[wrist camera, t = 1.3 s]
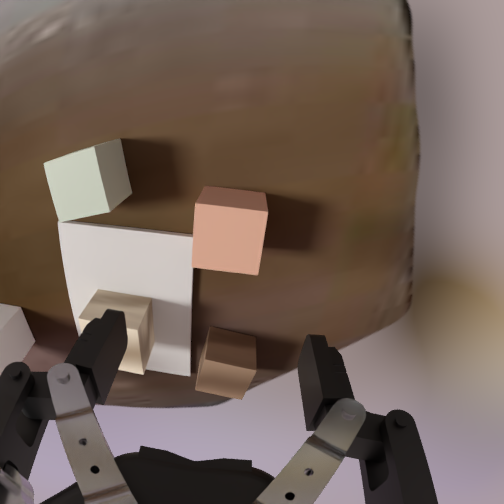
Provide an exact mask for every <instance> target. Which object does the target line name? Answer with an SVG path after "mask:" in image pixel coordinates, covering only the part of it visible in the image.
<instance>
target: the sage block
mask: <svg viewBox="0 0 504 504" xmlns="http://www.w3.org/2000/svg"><path fill="white" fill-rule="evenodd" d="M44 168H45V172H46V176H47V180H48V184H49V188H50V191H51V195H52V199H53V202H54V206H55V209H56V212H57V216H58V219H59V222H64V221H69V220H73V219H78V218H82V217H87V216H92V215H97V214H102V213H107V212H110V211H112V210H113V209H114V208H115V207H116V206H117V205H119V204H120V203H121V202H122V201H123V200H125V199H126V198H127V197H128V196H130V195H131V194H132V190H131V186H130V181H129V177H128V172H127V168H126V163H125V158H124V154H123V149H122V144H121V138H120V139H116V140H112V141H109V142H105V143H102V144H98V145H95V146H92V147H88V148H85V149H82V150H79V151H76V152H73V153H70V154H67V155H64V156H61V157H59V158H56V159H53V160H51V161H48V162H46V163H44Z"/></svg>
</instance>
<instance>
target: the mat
mask: <svg viewBox="0 0 504 504" xmlns="http://www.w3.org/2000/svg"><path fill="white" fill-rule="evenodd" d="M58 229H59V237H60V245H61V252H62V259H63V265H64V271H65V276H66V282H67V287H68V292H69V297H70V302H71V306H72V311H73V315H74V319H75V323H76V327H77V331H78V335H79V336H80V335H81V333H82V332H81V328H80V324H79V320H78V318H79V316H80V315H81V313H82V312H83V310H84V309H85V307H86V306H87V304H88V303H89V301H90V300H91V298H92V297H93V296H94V294H95V293H96V291H97V290H98V289H101V290H107V291H113V292H118V293H125V294H131V295H137V296H143V297H150V298H152V310H153V325H154V338H155V343H154V346H153V348H152V351H151V354H150V357H149V360H148V363H147V366H146V369H148V370H154V371H159V372H165V373H171V374H178V375H184V376H190V374H191V322H192V292H193V269H194V268H193V267H191V266H192V247H193V234H185V233H176V232H167V231H158V230H150V229H141V228H132V227H123V226H114V225H104V224H95V223H86V222H76V221H64V222H58Z"/></svg>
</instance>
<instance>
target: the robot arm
mask: <svg viewBox="0 0 504 504" xmlns="http://www.w3.org/2000/svg"><path fill="white" fill-rule="evenodd" d="M127 345H128V335H127V328H126V321H125V314H124V312H123V311H118V310H113V309H107V310H106V311H105V312H104V314H103V316H102V317H101V319H100V318H94V319H93V320H92V321H90V322H89V323H88V324H87V325H86V327H85V328H84V330H83V332H82V333H81V335H80V336H79V338H78V340H77V341H76V343H75V345H74V346H73V348H72V350H71V352H70V353H69V355H68V357H67V358H66V360H65V362H64V363H60V364H57V365H55V366H53V367H52V368H51V369H50V370H49V372H31V371H30V369H29V367H28V366H27V365H26V364H25V363H23V362H13V363H10V364H9V365H7V366H6V367H5V368H4V370H3V372H2V373H1V375H0V504H34V499H33V497H34V491H33V487H32V485H31V484H30V482H29V481H28V478H29V476H30V473H31V469H32V466H33V463H34V460H35V457H36V454H37V451H38V448H39V445H40V442H41V440H42V437H43V434H44V432H45V429H46V426H47V424H48V421H49V420H56V424H57V428H58V431H59V434H60V437H61V440H62V443H63V446H64V449H65V452H66V455H67V458H68V460H69V463H70V465H71V468H72V471H73V473H74V476H75V478H76V481H77V482H75V483H74V484H72V485H71V486H69V487H68V488H66V489H64V490H63V491H61V492H59V493H57V494H56V495H54V496H52V497H50V498H49V499H47V500H45V501H43V502H42V503H40V504H313V503H314V502H315V501H316V499H317V498H318V496H319V495H320V494H321V492H322V491H323V489H324V488H325V486H326V485H327V483H328V482H329V481H330V479H331V478H332V476H333V475H334V473H335V472H336V470H337V469H338V467H339V465H340V464H341V462H342V461H343V459H344V457H345V456H346V457H351V458H356V459H359V462H360V469H361V475H362V481H363V489H364V496H365V503H366V504H438V501H437V497H436V493H435V489H434V485H433V481H432V477H431V474H430V470H429V466H428V463H427V460H426V456H425V453H424V449H423V446H422V443H421V440H420V436H419V433H418V430H417V427H416V424H415V421H414V419H413V417H412V416H411V415H410V414H409V413H407V412H405V411H403V410H392V411H390V412H389V413H388V414H387V415H386V416H383V415H378V414H373V413H369V412H367V411H366V410H365V408H364V407H363V405H362V404H361V403H359V402H358V401H356V400H355V398H354V395H353V392H352V389H351V385H350V382H349V378H348V375H347V373H346V368H345V366H344V362H343V359H342V356H341V354H340V353H339V352H338V351H337V349H336V348H335V347H328V344H327V341H326V337H325V336H324V335H311V334H308V335H307V336H306V339H305V342H304V345H303V348H302V351H301V354H300V357H299V361H298V375H299V382H300V388H301V395H302V402H303V409H304V416H305V423H306V430H307V431H315V432H314V433H313V434H312V436H311V437H309V438H308V439H307V440H306V442H305V443H304V444H303V445H302V447H301V448H300V449H299V450H298V451H297V453H296V454H295V455H294V456H293V458H292V459H291V460H290V461H289V463H288V464H287V465H286V466H285V467H284V468H283V470H282V471H281V472H280V473H279V474H278V475H277V477H276V478H274V477H273V476H272V475H270V474H268V473H266V472H264V471H262V470H260V469H257V468H254V467H252V460H238V459H226V458H223V459H214V460H205V461H192V460H189V459H187V458H184V457H181V456H179V455H176V454H174V453H171V452H169V451H166V450H160V449H155V448H150V447H145V446H140V451H139V452H133V453H127V454H123V455H120V456H117V457H115V458H114V456H113V454H112V452H111V450H110V448H109V446H108V443H107V441H106V439H105V437H104V435H103V432H102V430H101V428H100V426H99V423H98V421H97V418H96V416H95V413H94V411H93V408H94V406H95V403H98V404H102V405H104V404H105V401H106V398H107V396H108V393H109V391H110V388H111V386H112V383H113V381H114V378H115V376H116V373H117V371H118V368H119V366H120V364H121V361H122V359H123V357H124V354H125V352H126V349H127Z"/></svg>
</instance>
